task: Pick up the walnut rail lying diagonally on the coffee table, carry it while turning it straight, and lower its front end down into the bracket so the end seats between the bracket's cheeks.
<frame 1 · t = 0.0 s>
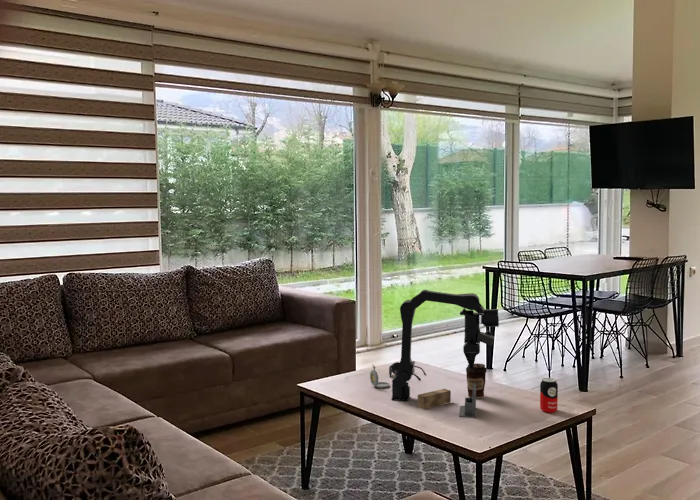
hand: (471, 365, 268), 15 cm above the table, fingers open, 9 cm apart
pocket watch: (379, 387, 291), on the table
sunglasses: (407, 377, 308), on the table
rail: (434, 405, 266), on the table
beverage can: (548, 411, 257), on the table
coffee cup: (476, 397, 276), on the table
bracket: (467, 411, 257), on the table
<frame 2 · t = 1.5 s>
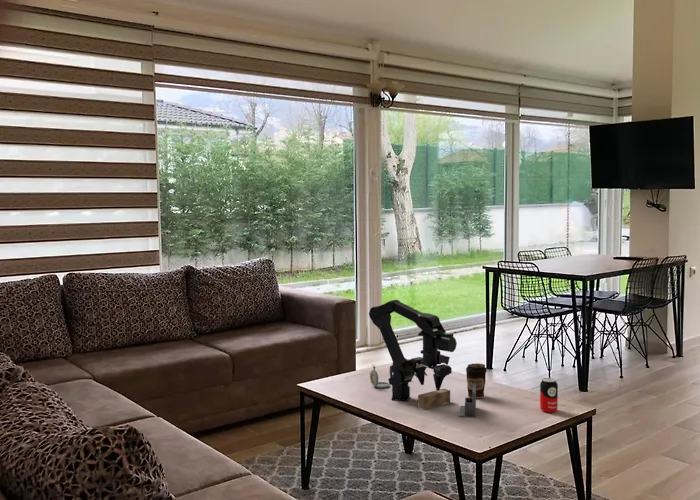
hand: (430, 387, 264), 7 cm above the table, fingers open, 9 cm apart
nothing on the table moved.
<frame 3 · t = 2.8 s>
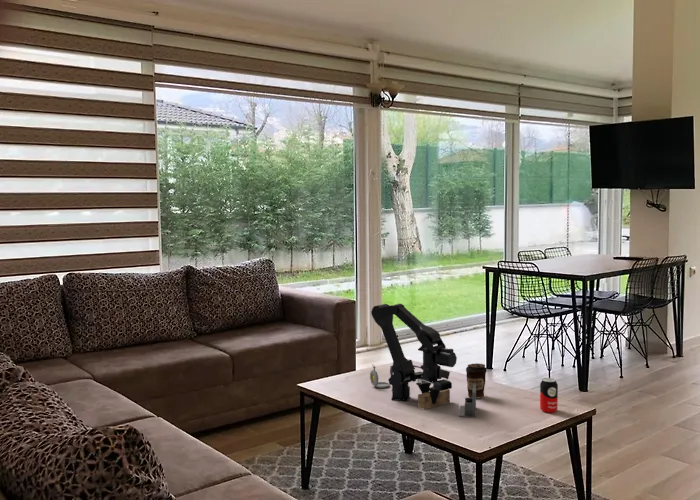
hand: (430, 402, 265), 1 cm above the table, fingers closed on rail, 4 cm apart
rail: (434, 404, 266), on the table, touching gripper
everything else where it was.
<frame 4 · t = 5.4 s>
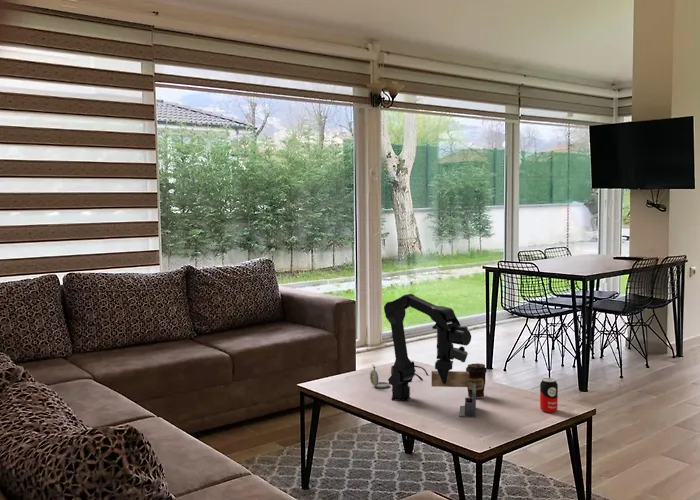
hand: (444, 382, 257), 11 cm above the table, fingers closed on rail, 4 cm apart
rail: (450, 385, 257), point 10 cm above the table, touching gripper
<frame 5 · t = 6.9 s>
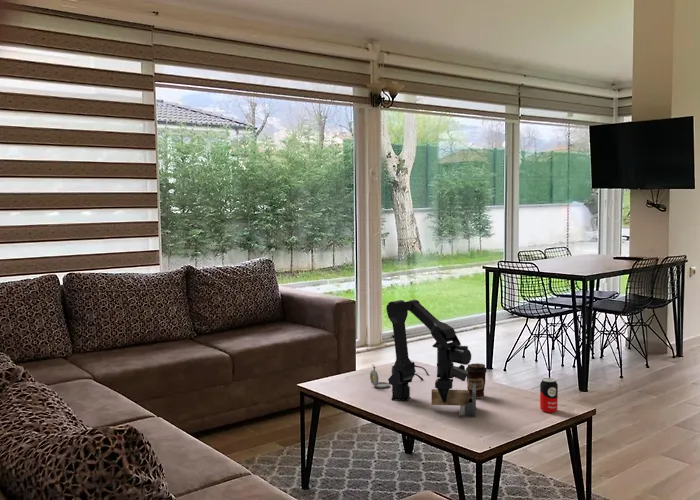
hand: (444, 400, 258), 4 cm above the table, fingers closed on rail, 4 cm apart
rail: (450, 403, 258), point 3 cm above the table, touching gripper
when the fingers open (3 cm above the table, at t = 7.9 s): rail drops 1 cm, resting on bracket.
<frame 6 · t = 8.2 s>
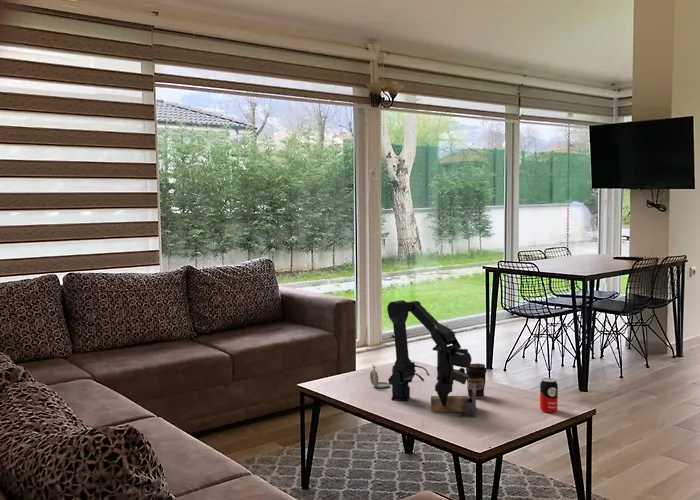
hand: (444, 403, 258), 3 cm above the table, fingers open, 6 cm apart
rail: (450, 410, 258), resting on bracket
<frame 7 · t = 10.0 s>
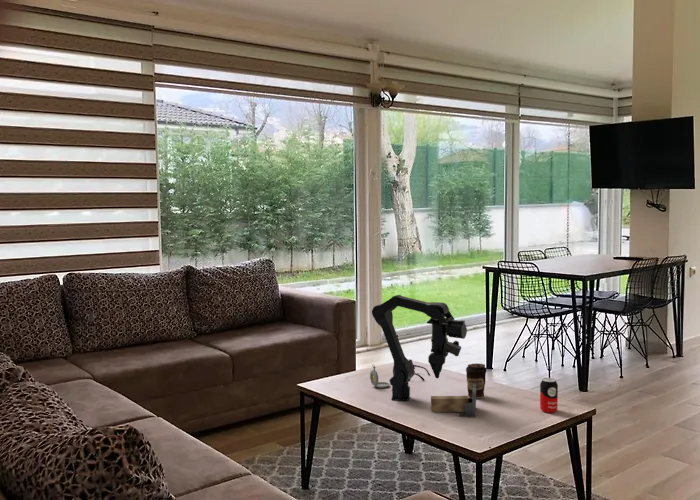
hand: (438, 375, 265), 12 cm above the table, fingers open, 9 cm apart
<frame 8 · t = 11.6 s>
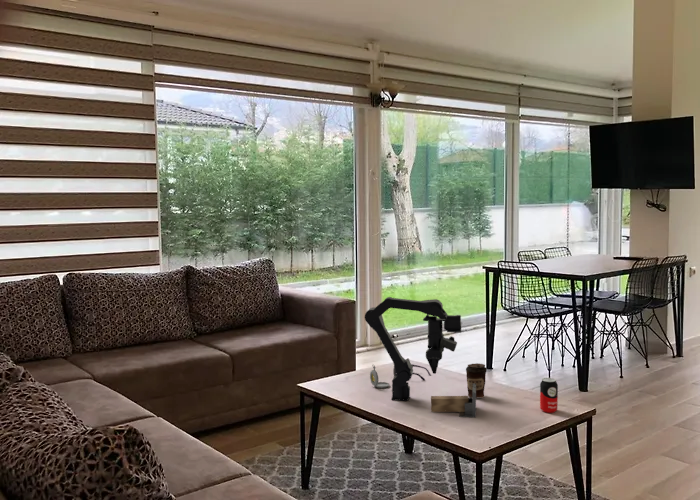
hand: (435, 370, 271), 12 cm above the table, fingers open, 9 cm apart
at the end: rail 0.2 cm from the target spot on the table beside the bracket, on the table; rail on the table; the gripper is holding nothing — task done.
